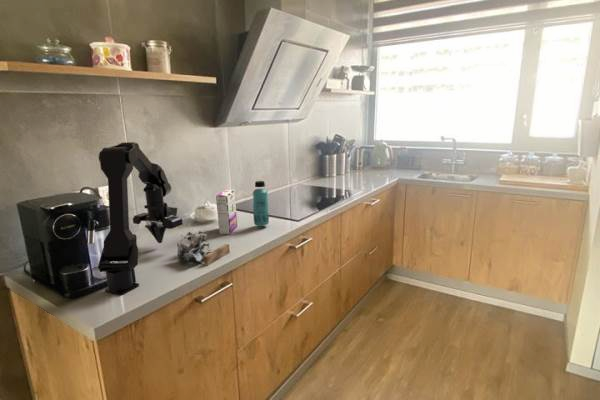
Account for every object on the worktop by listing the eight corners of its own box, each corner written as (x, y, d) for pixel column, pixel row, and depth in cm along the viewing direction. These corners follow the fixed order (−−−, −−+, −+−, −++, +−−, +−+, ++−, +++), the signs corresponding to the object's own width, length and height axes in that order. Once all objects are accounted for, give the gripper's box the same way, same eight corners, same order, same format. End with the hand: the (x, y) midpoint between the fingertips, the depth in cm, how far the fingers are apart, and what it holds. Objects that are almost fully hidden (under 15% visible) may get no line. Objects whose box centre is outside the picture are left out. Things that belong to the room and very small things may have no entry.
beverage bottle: (251, 226, 156) (249, 180, 152) (266, 223, 159) (264, 179, 155) (257, 230, 151) (254, 183, 146) (271, 227, 154) (269, 181, 149)
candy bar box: (226, 226, 157) (223, 189, 153) (237, 226, 157) (235, 189, 153) (218, 234, 146) (215, 195, 142) (230, 234, 146) (227, 195, 142)
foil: (162, 254, 118) (188, 220, 127) (180, 273, 125) (204, 239, 134) (186, 259, 112) (212, 223, 121) (204, 278, 119) (227, 243, 127)
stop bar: (207, 265, 116) (207, 256, 115) (204, 264, 117) (203, 256, 116) (229, 252, 127) (229, 244, 126) (226, 252, 127) (225, 244, 126)
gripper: (191, 198, 131) (195, 238, 135) (153, 194, 139) (158, 233, 143) (168, 205, 121) (173, 249, 125) (129, 201, 129) (134, 242, 133)
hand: (160, 242), depth 132 cm, fingers closed
